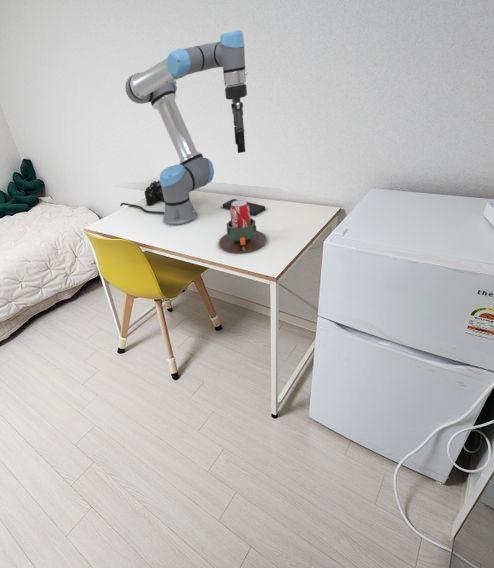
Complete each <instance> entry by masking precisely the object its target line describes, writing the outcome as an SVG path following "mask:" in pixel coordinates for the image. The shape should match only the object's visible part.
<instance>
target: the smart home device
mask: <svg viewBox="0 0 494 568" xmlns="http://www.w3.org/2000/svg"><path fill="white" fill-rule="evenodd" d="M236 200H238V199H235V198H232V199H230V200H228V201H226V202H224V203H222V208H223V209H226V210H228V211H230V207H231V203H232V202H233V201H236ZM247 204H248V205H249V210H250V216H253V217H255V216H257V215H258V214H260V213H262V212H264V211H266V206H265V205H262V204H257V203H252V202H249V201H247Z"/></svg>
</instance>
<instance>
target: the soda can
mask: <svg viewBox="0 0 494 568" xmlns="http://www.w3.org/2000/svg"><path fill="white" fill-rule="evenodd" d="M247 202H248V201H247V200H246V199H237V200H236V201H233V202H232V203H231V207H230V210H229V213H230V220H231V224H232V228H245V227H248V226H250V225H251V224H250V218H251V215H250V210H249V205H248V204H247Z"/></svg>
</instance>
